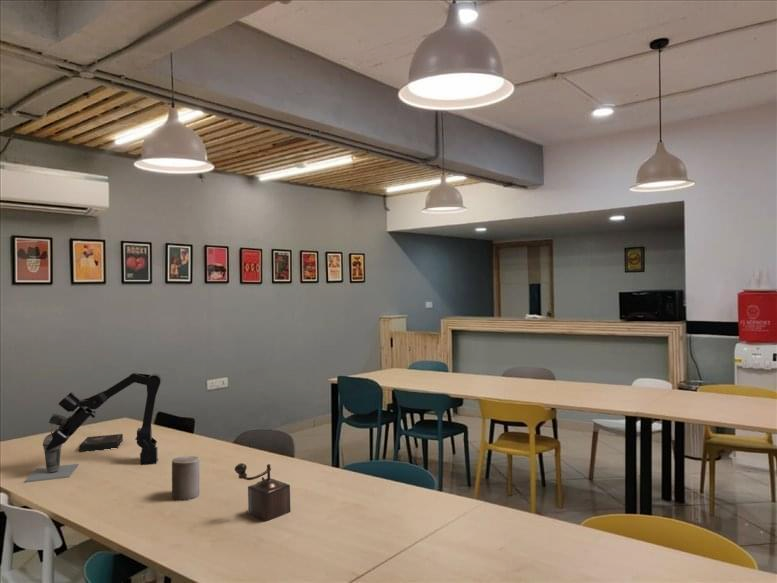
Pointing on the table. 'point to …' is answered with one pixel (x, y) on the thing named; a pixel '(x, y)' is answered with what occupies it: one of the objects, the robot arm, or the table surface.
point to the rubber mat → (51, 473)
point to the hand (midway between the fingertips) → (49, 447)
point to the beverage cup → (52, 454)
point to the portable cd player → (101, 442)
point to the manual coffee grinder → (266, 495)
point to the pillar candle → (185, 477)
